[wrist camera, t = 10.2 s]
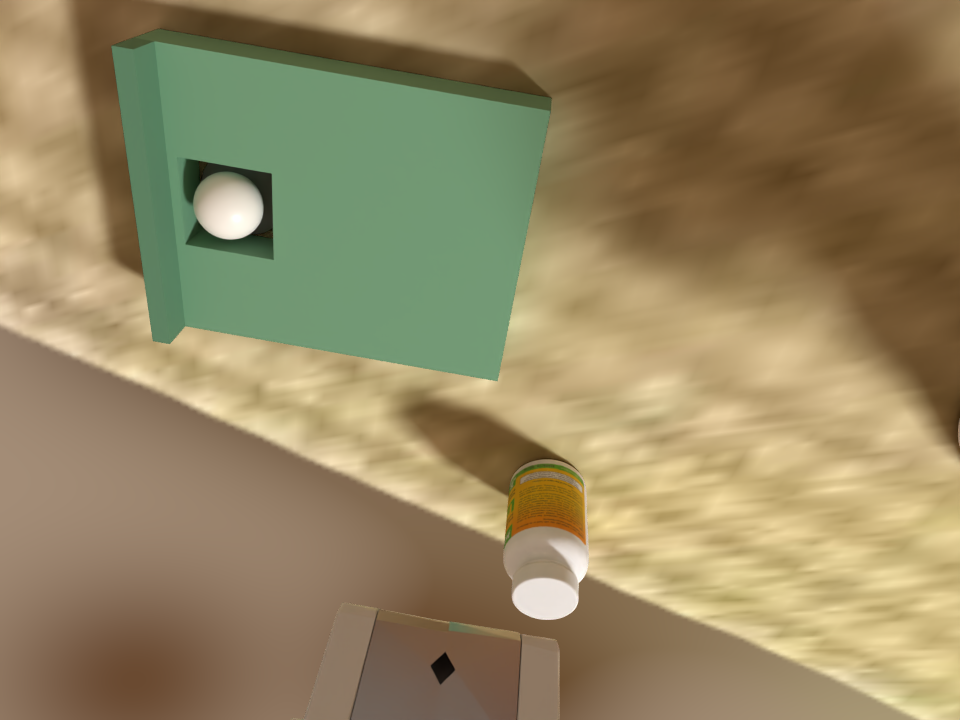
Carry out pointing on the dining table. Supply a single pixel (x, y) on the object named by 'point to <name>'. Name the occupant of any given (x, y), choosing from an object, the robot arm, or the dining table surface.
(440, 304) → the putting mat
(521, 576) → the supplement bottle
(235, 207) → the ball
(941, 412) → the dining table surface
